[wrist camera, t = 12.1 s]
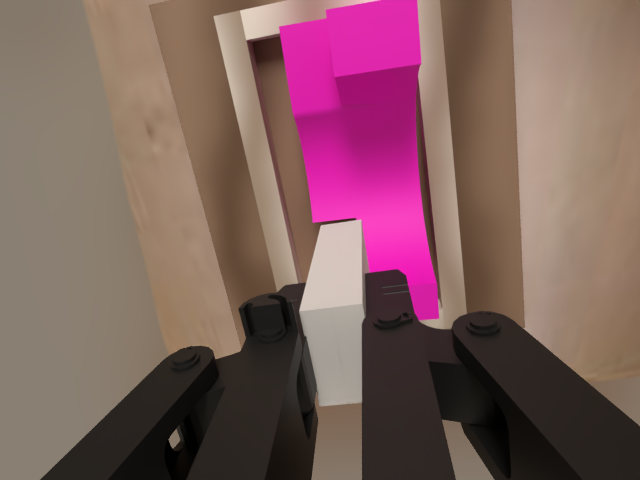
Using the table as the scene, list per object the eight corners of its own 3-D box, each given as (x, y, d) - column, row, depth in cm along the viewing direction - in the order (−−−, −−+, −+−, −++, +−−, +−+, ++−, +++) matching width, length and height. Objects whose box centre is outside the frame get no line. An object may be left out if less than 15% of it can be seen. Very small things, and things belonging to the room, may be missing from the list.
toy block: (291, 33, 27) (267, 19, 20) (401, 15, 26) (416, -7, 19) (328, 271, 32) (318, 329, 24) (421, 262, 31) (439, 318, 24)
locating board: (501, -69, 25) (517, -85, 23) (519, 318, 33) (532, 339, 30) (157, 8, 28) (137, 1, 25) (247, 349, 36) (239, 370, 33)
